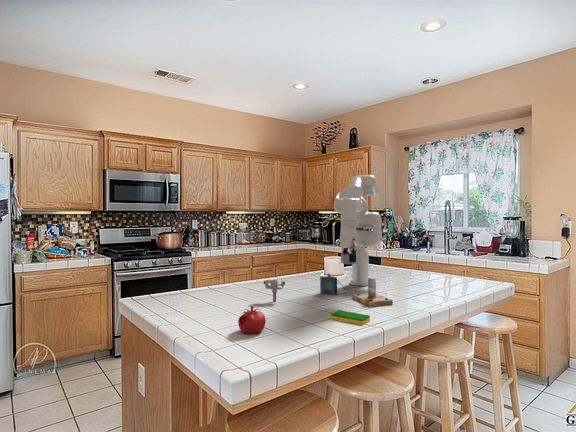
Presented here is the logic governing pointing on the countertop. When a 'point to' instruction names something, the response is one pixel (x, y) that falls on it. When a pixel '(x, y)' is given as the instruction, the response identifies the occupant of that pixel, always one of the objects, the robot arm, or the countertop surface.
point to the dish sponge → (350, 317)
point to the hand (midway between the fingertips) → (349, 260)
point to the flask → (328, 285)
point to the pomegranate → (252, 321)
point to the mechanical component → (273, 287)
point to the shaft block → (372, 296)
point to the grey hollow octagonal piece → (346, 258)
